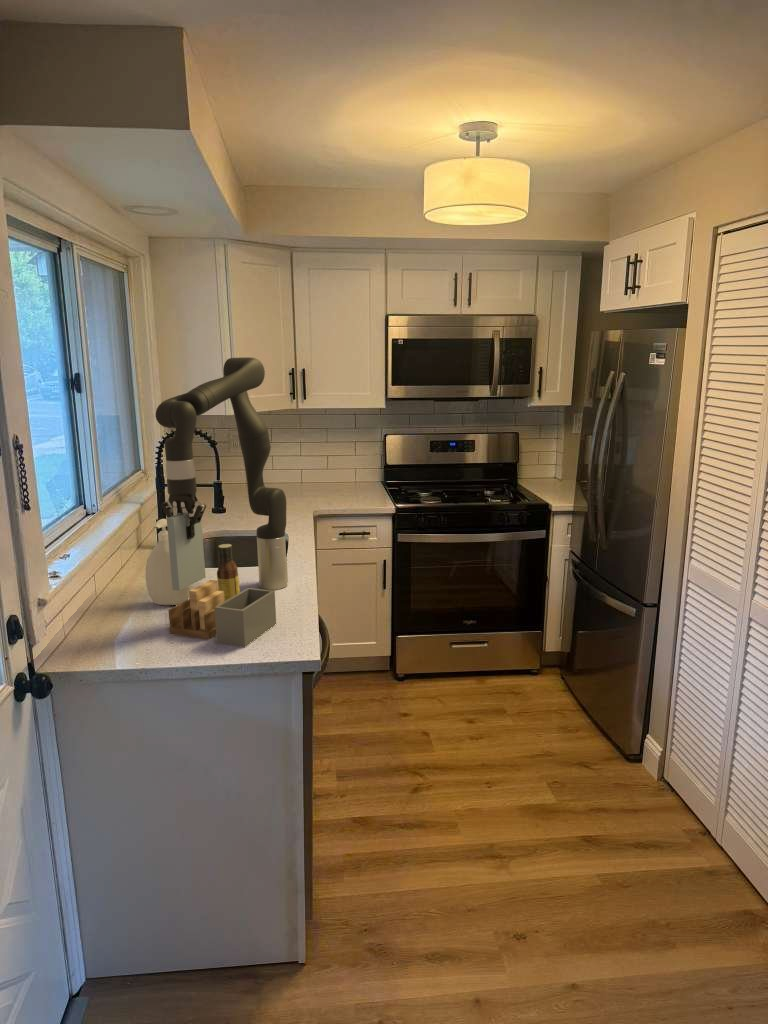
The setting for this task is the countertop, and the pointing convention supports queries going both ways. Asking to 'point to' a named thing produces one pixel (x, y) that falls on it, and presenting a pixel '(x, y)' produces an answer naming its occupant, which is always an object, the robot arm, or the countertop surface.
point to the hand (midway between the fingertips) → (186, 538)
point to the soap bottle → (162, 572)
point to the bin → (245, 616)
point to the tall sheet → (185, 553)
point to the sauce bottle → (227, 572)
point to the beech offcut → (209, 605)
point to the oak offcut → (201, 594)
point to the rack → (183, 623)
